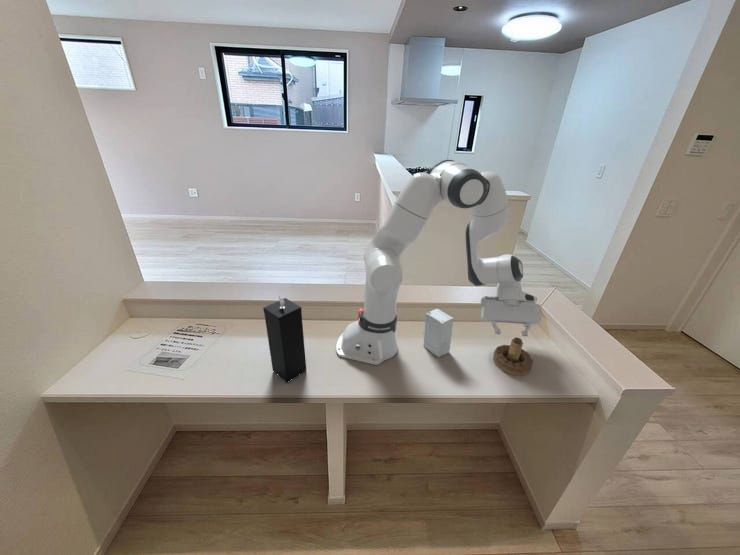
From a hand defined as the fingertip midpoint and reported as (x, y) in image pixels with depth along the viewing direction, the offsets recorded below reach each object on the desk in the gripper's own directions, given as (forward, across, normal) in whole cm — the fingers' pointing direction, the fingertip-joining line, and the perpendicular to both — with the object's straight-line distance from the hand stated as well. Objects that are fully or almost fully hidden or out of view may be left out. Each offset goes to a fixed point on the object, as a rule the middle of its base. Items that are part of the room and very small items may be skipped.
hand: (511, 335), depth 111 cm
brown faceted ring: (+10, 0, +1) cm, 10 cm away
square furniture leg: (+20, -75, -10) cm, 78 cm away
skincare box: (+7, -26, +4) cm, 27 cm away
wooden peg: (+10, 0, +1) cm, 10 cm away
